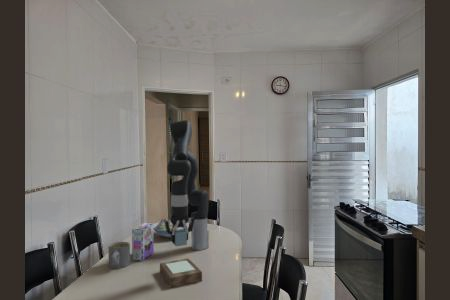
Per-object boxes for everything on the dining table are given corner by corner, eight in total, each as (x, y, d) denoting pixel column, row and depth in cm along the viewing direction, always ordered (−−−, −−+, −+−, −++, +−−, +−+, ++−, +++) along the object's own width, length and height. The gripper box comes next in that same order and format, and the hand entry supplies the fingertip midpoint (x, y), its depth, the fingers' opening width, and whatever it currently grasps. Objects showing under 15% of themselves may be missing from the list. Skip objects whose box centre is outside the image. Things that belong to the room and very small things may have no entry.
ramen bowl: (184, 242, 188) (184, 228, 188) (147, 242, 188) (147, 228, 188) (190, 230, 213) (189, 219, 213) (157, 230, 213) (157, 219, 213)
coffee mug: (115, 260, 158) (115, 241, 158) (133, 261, 156) (133, 242, 156) (100, 271, 144) (100, 249, 144) (120, 272, 143) (120, 250, 143)
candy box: (142, 261, 156) (142, 229, 156) (131, 260, 157) (131, 228, 157) (154, 252, 170) (153, 222, 170) (144, 251, 171) (144, 222, 171)
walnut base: (188, 266, 149) (188, 257, 149) (201, 281, 133) (201, 271, 133) (159, 271, 143) (159, 262, 143) (170, 287, 127) (170, 277, 127)
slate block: (183, 241, 141) (183, 228, 141) (186, 244, 137) (186, 231, 137) (172, 243, 139) (172, 230, 139) (175, 246, 135) (175, 232, 135)
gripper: (191, 201, 144) (191, 237, 145) (161, 204, 138) (161, 241, 138) (197, 204, 138) (197, 242, 138) (166, 207, 132) (166, 246, 132)
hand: (179, 241), depth 138 cm, fingers closed on slate block, 5 cm apart
